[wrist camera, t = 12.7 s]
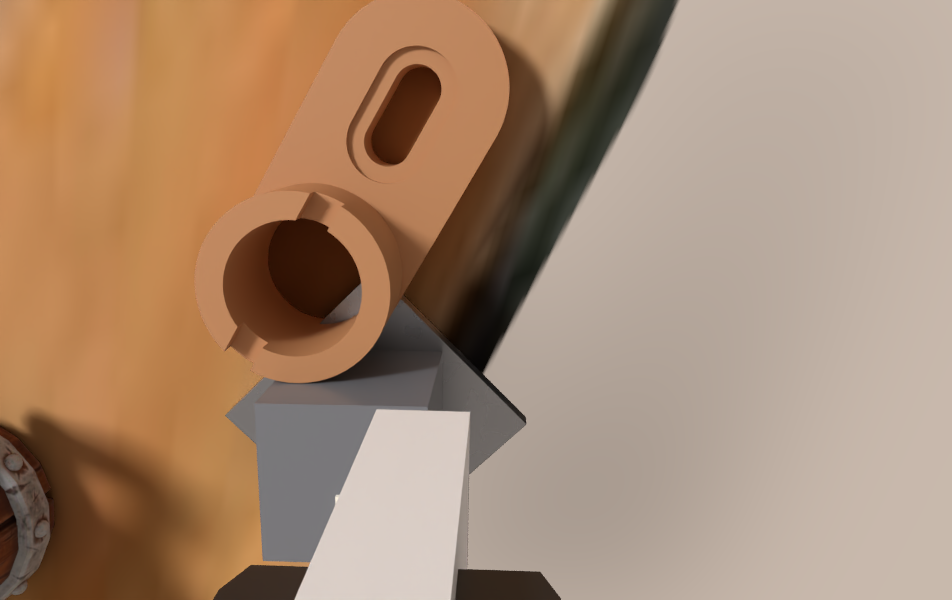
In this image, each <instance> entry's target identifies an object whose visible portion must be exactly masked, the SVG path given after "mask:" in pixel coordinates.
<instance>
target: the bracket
mask: <svg viewBox="0 0 952 600" xmlns="http://www.w3.org/2000/svg"><path fill="white" fill-rule="evenodd" d="M418 67H426V68H429V69H432V70H433V71H434V72H435V73H436V74H437V75H438V77H439V79H440V82H441V88H442V90H441V96H440V99H439V101H438V103H437V105H436V107H435V108H434V110H433V112H432V114H431V116H430V117H429V119H428V121H427V123H426V124H425V126H424V128H423V130H422V131H421V133H420V135H419V137H418V138H417V140H416V142H415V144H414V146H413V147H412V149H411V151H410V153H409V154H408V156H407V158H406V159H405V160H404V161H403V162H401V163H400V164H388V163H385V162H383V161H382V160H380V159H379V158H378V157H377V156H376V154H375V153H374V151H373V148H372V144H371V138H372V134H373V131H374V129H375V127H376V125H377V124H378V122H379V120H380V118H381V116H382V115H383V113H384V111H385V109H386V107H387V106H388V104H389V102H390V100H391V98H392V96H393V95H394V93H395V91H396V89H397V87H398V86H399V84H400V82H401V80H402V78H403V77H404V75H405V74H406V73H407V72H409V71H410V70H412V69H414V68H418ZM509 89H510V87H509V74H508V68H507V64H506V60H505V56H504V54H503V51H502V48H501V46H500V44H499V42H498V40H497V38H496V37H495V35H494V34H493V32H492V30H491V29H490V28H489V27H488V25H487V24H486V23H485V22H484V20H483V19H482V18H481V17H480V16H478V15H477V14H476V13H475V12H474V11H473V10H471V9H470V8H469V7H467V6H466V5H464V4H463V3H461V2H460V1H457V0H374V1H372V2H370V3H369V4H367V5H366V6H364V7H363V8H361V9H360V10H359V11H358V12H357V13H356V14H354V15H353V16H352V18H351V19H350V20H349V21H348V22H347V23H346V24H345V26H344V27H343V28H342V30H341V31H340V33H339V35H338V36H337V38H336V40H335V42H334V43H333V45H332V47H331V49H330V51H329V53H328V55H327V57H326V59H325V61H324V62H323V64H322V66H321V68H320V70H319V72H318V74H317V76H316V78H315V80H314V82H313V83H312V85H311V87H310V89H309V91H308V93H307V95H306V97H305V99H304V101H303V103H302V104H301V106H300V108H299V110H298V112H297V114H296V116H295V118H294V120H293V122H292V124H291V125H290V127H289V129H288V131H287V133H286V135H285V137H284V139H283V141H282V143H281V144H280V146H279V148H278V150H277V152H276V154H275V156H274V158H273V160H272V162H271V164H270V165H269V167H268V169H267V171H266V173H265V175H264V177H263V179H262V181H261V183H260V185H259V186H258V188H257V190H256V192H255V194H254V196H253V197H251V198H249V199H246V200H244V201H242V202H241V203H239V204H237V205H235V206H234V207H233V208H231V209H230V210H228V211H227V212H226V213H225V214H224V215H223V216H222V217H221V218H219V220H218V221H217V222H216V223H215V224H214V225H213V227H212V228H211V230H210V231H209V233H208V234H207V236H206V238H205V240H204V242H203V244H202V246H201V249H200V251H199V254H198V258H197V262H196V269H195V294H196V299H197V305H198V308H199V311H200V314H201V317H202V319H203V321H204V324H205V326H206V327H207V329H208V331H209V333H210V334H211V336H212V337H213V339H214V340H215V342H216V343H217V344H218V345H219V346H220V348H221V349H222V350H223V351H225V350H227V349H228V348H229V347H230V346H231V347H232V348H233V349H234V350H235V351H236V352H238V353H239V354H240V355H242V356H243V357H244V358H246V359H247V360H249V361H251V362H253V363H254V364H253V366H252V368H251V369H250V371H252V372H254V373H256V374H258V375H260V376H263V377H265V378H268V379H272V380H276V381H281V382H288V383H309V382H316V381H321V380H324V379H328V378H331V377H333V376H336V375H338V374H340V373H342V372H344V371H346V370H348V369H349V368H351V367H352V366H354V365H355V364H356V363H357V362H359V361H360V360H361V359H362V358H363V357H364V356H365V355H366V354H367V353H368V352H369V351H370V349H371V348H372V347H373V345H374V344H375V343H376V341H377V339H378V338H379V336H380V334H381V332H382V331H383V329H384V327H385V325H386V323H387V322H388V320H389V318H390V316H391V314H392V313H393V311H394V309H395V308H396V306H397V304H398V303H399V301H400V299H401V298H402V296H403V294H404V292H405V291H406V289H407V287H408V286H409V284H410V282H411V281H412V279H413V277H414V276H415V274H416V272H417V270H418V269H419V267H420V265H421V264H422V262H423V260H424V259H425V257H426V255H427V254H428V252H429V250H430V248H431V247H432V245H433V243H434V242H435V240H436V238H437V237H438V235H439V233H440V232H441V230H442V228H443V226H444V225H445V223H446V221H447V220H448V218H449V216H450V215H451V213H452V211H453V210H454V208H455V206H456V204H457V203H458V201H459V199H460V198H461V196H462V194H463V193H464V191H465V189H466V188H467V186H468V184H469V182H470V181H471V179H472V177H473V176H474V174H475V172H476V171H477V169H478V167H479V166H480V164H481V162H482V160H483V159H484V157H485V155H486V154H487V152H488V150H489V149H490V147H491V145H492V143H493V142H494V140H495V138H496V137H497V135H498V133H499V131H500V129H501V127H502V124H503V121H504V119H505V115H506V112H507V107H508V101H509ZM299 218H305V219H310V220H314V221H317V222H319V223H322V224H324V225H326V226H328V227H329V229H328V230H327V231H328V232H329V233H330V234H332V235H333V236H334V237H336V238H337V239H338V240H339V241H340V242H341V243H342V244H343V245H344V246H345V248H346V249H347V250H348V251H349V253H350V254H351V256H352V258H353V260H354V262H355V264H356V266H357V268H358V271H359V275H360V279H361V285H362V300H361V306H360V310H359V313H358V314H357V315H355V316H353V317H351V318H350V319H347V320H345V321H342V322H338V323H332V324H320V323H321V322H322V320H323V318H317V317H313V316H310V315H307V314H305V313H303V312H301V311H299V310H297V309H296V308H294V307H293V306H291V305H290V304H289V303H288V302H287V301H286V300H285V299H284V298H283V297H282V296H281V294H280V293H279V292H278V290H277V289H276V287H275V285H274V283H273V280H272V278H271V275H270V271H269V265H268V252H269V246H270V242H271V239H272V237H273V234H274V232H275V231H276V229H277V227H278V226H279V225H280V223H281V222H282V221H283V220H297V219H299Z"/></svg>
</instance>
